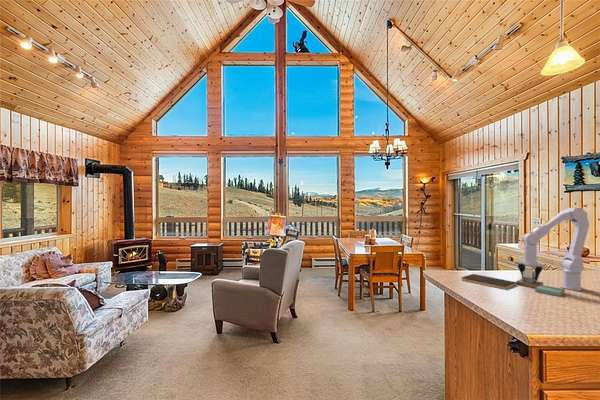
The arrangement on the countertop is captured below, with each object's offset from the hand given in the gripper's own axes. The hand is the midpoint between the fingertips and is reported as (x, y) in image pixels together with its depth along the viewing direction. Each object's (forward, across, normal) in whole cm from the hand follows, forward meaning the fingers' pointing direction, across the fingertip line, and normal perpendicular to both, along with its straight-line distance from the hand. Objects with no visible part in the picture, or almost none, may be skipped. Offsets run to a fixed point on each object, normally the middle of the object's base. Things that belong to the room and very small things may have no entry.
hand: (529, 279), depth 179 cm
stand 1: (+3, 0, 0) cm, 3 cm away
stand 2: (+3, +11, -8) cm, 14 cm away
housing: (+1, 0, 0) cm, 1 cm away
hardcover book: (+4, -16, -14) cm, 22 cm away
